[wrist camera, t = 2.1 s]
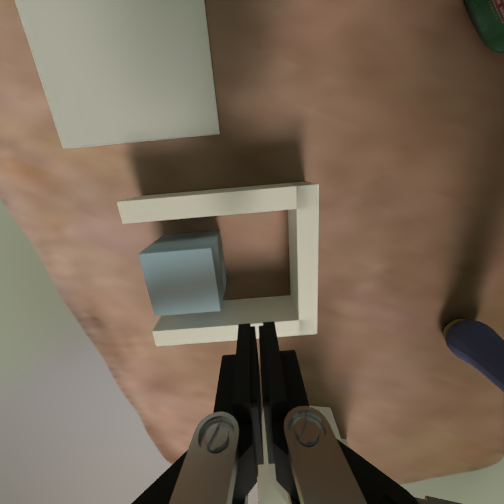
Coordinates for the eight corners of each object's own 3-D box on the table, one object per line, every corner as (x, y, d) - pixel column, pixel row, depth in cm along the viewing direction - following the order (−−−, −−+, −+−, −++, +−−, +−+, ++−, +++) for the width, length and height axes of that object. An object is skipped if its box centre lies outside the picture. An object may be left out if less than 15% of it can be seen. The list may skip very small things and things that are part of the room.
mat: (-3, -67, 14) (-10, -74, 14) (194, -89, 14) (192, -96, 13) (66, 148, 18) (62, 148, 18) (220, 134, 18) (219, 133, 17)
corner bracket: (336, 465, 31) (385, 631, 20) (253, 460, 31) (256, 627, 20) (357, 409, 28) (430, 572, 17) (264, 402, 27) (274, 565, 16)
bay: (142, 195, 19) (116, 201, 16) (305, 181, 19) (319, 184, 15) (171, 317, 23) (156, 346, 20) (306, 307, 23) (317, 334, 19)
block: (163, 234, 21) (138, 254, 16) (220, 229, 20) (211, 248, 16) (174, 285, 22) (154, 316, 18) (226, 280, 22) (220, 311, 17)
